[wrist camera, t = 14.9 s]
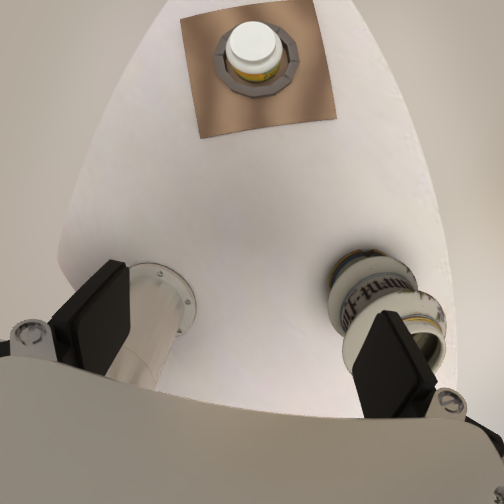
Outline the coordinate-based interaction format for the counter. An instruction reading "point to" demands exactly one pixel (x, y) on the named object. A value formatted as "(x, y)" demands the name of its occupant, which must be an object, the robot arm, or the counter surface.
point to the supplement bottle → (254, 52)
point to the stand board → (266, 93)
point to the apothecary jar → (383, 304)
